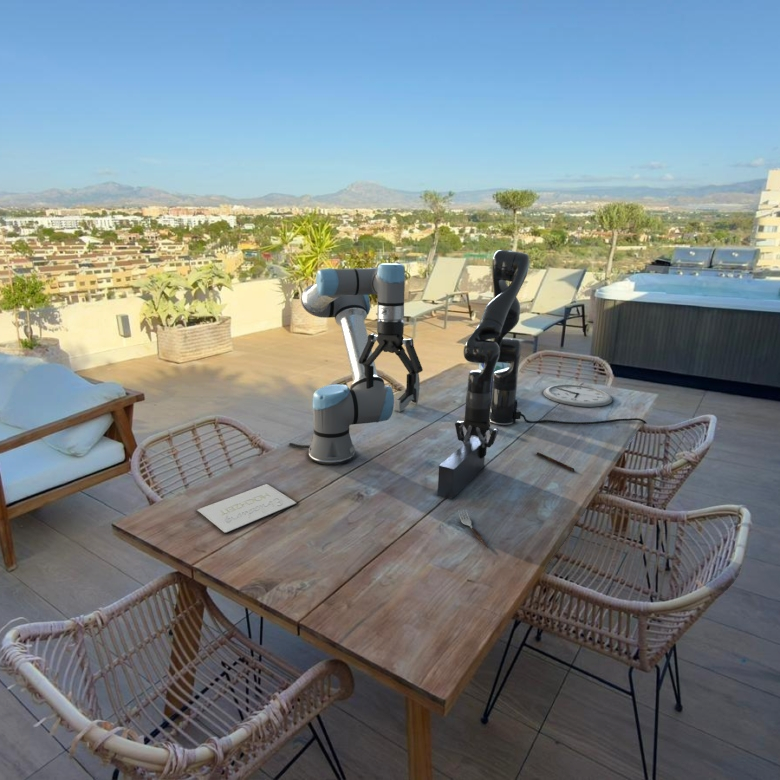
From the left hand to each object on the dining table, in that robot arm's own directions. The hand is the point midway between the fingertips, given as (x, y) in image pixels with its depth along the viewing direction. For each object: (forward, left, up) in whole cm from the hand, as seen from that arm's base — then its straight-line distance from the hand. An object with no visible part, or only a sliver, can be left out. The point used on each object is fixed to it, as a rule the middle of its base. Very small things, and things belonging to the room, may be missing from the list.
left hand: (389, 391), depth 154 cm
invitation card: (-19, -39, -27) cm, 51 cm away
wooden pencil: (+40, +38, -27) cm, 61 cm away
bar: (+21, +9, -27) cm, 35 cm away
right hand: (+21, +18, -22) cm, 35 cm away
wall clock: (+27, +116, -27) cm, 122 cm away
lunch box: (-3, +88, -27) cm, 92 cm away
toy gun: (-28, +56, -27) cm, 68 cm away
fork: (+36, -15, -27) cm, 47 cm away
